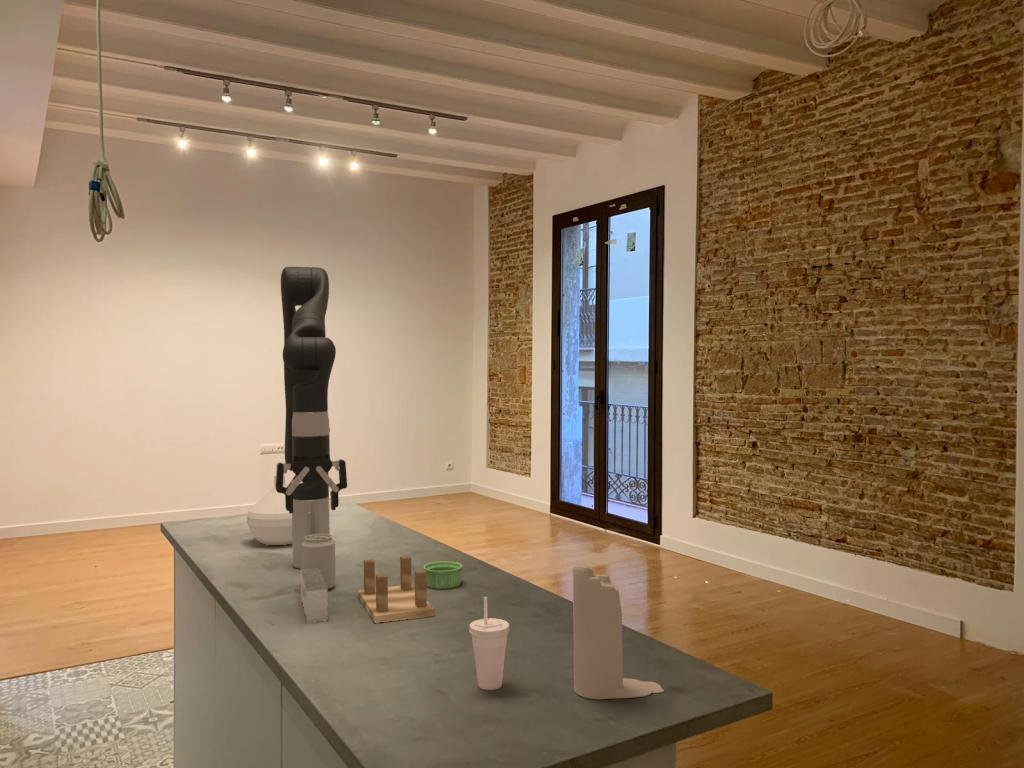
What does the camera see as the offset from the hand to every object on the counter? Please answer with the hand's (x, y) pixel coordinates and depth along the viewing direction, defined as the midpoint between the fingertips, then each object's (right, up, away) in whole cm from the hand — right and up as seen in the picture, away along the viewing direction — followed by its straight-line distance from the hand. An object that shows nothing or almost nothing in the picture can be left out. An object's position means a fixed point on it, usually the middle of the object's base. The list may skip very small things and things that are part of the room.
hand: (312, 511), depth 165 cm
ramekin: (+26, -20, +18) cm, 37 cm away
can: (-2, -20, +16) cm, 26 cm away
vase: (-25, -19, +63) cm, 70 cm away
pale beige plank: (0, -21, +1) cm, 21 cm away
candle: (+58, -21, -41) cm, 74 cm away
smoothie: (+38, -21, -39) cm, 59 cm away
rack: (+17, -20, +2) cm, 26 cm away
